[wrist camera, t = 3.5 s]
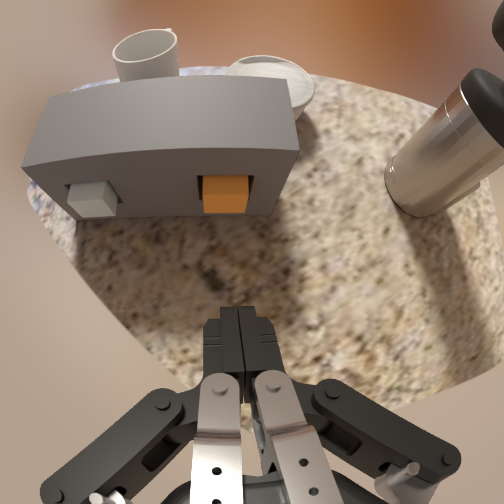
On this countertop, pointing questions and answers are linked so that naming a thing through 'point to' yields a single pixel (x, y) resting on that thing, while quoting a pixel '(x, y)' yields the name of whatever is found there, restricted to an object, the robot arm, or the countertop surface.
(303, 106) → the ramekin
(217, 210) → the orange button
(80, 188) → the white cube
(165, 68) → the mug
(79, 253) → the countertop surface
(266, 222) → the countertop surface
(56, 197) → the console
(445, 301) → the countertop surface
